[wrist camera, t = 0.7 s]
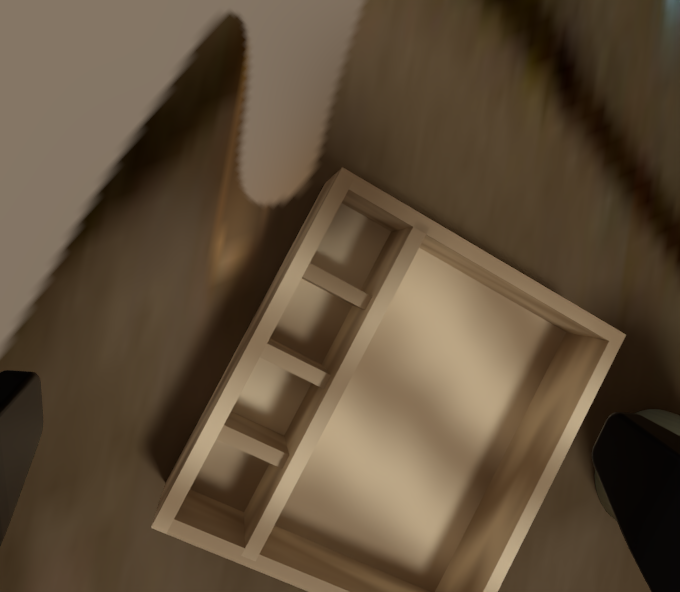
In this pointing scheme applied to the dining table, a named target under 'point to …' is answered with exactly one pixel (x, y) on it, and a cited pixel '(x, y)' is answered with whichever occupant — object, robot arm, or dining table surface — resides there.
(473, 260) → the tray
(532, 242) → the dining table surface
